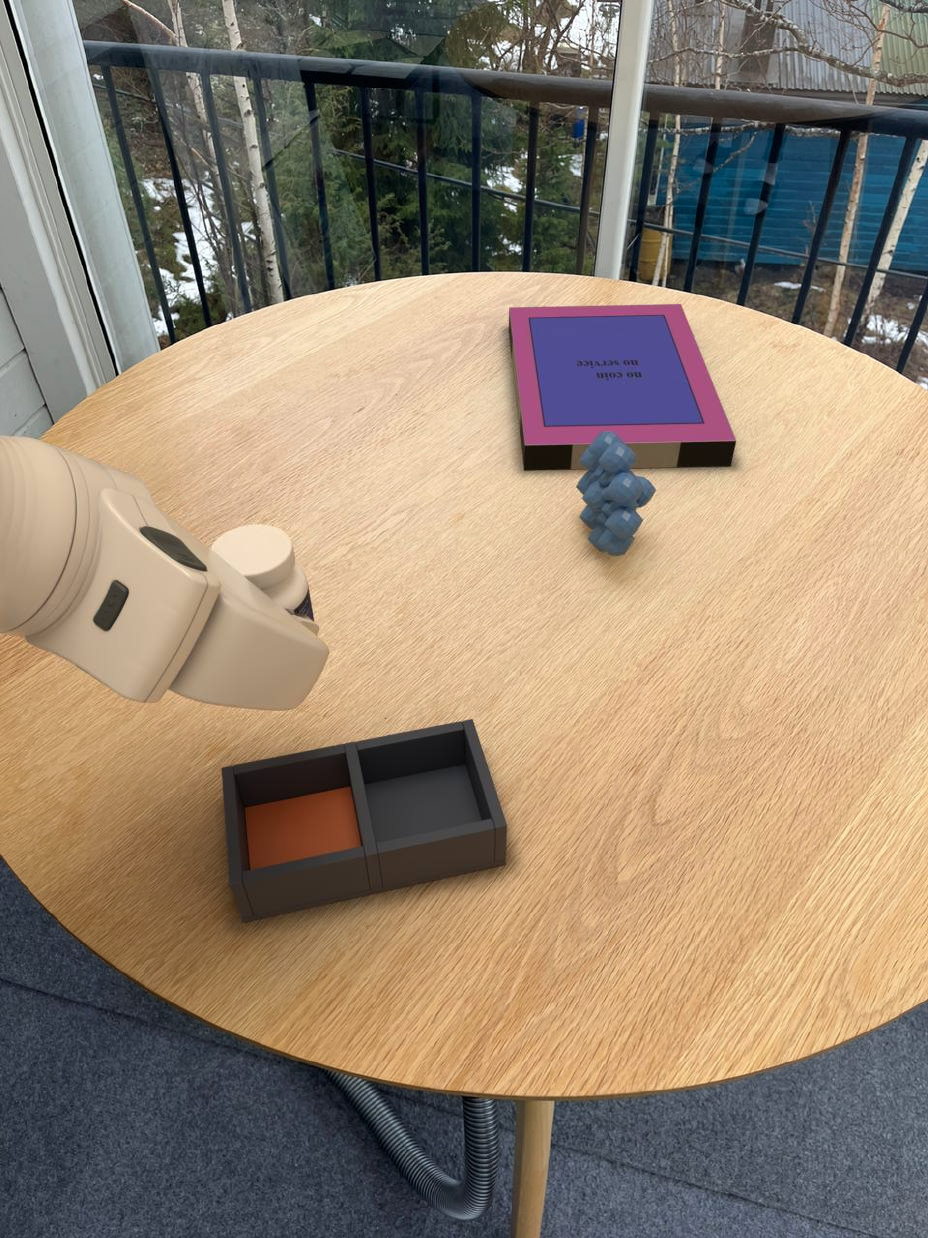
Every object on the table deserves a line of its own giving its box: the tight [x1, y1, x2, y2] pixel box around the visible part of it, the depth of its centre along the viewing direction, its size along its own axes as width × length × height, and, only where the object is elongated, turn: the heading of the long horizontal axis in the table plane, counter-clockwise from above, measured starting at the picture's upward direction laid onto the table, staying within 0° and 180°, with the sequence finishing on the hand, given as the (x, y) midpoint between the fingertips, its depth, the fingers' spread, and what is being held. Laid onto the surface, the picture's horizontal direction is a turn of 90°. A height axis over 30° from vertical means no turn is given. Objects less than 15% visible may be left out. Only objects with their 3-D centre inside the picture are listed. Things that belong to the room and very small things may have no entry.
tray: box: [221, 718, 508, 923], centre depth 63 cm, size 17×9×5 cm, turn 104°
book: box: [508, 303, 737, 471], centre depth 105 cm, size 21×3×30 cm
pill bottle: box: [210, 523, 318, 636], centre depth 56 cm, size 6×6×10 cm
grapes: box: [575, 431, 657, 558], centre depth 82 cm, size 12×7×12 cm, turn 10°
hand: (271, 603), depth 56 cm, fingers closed on pill bottle, 6 cm apart
